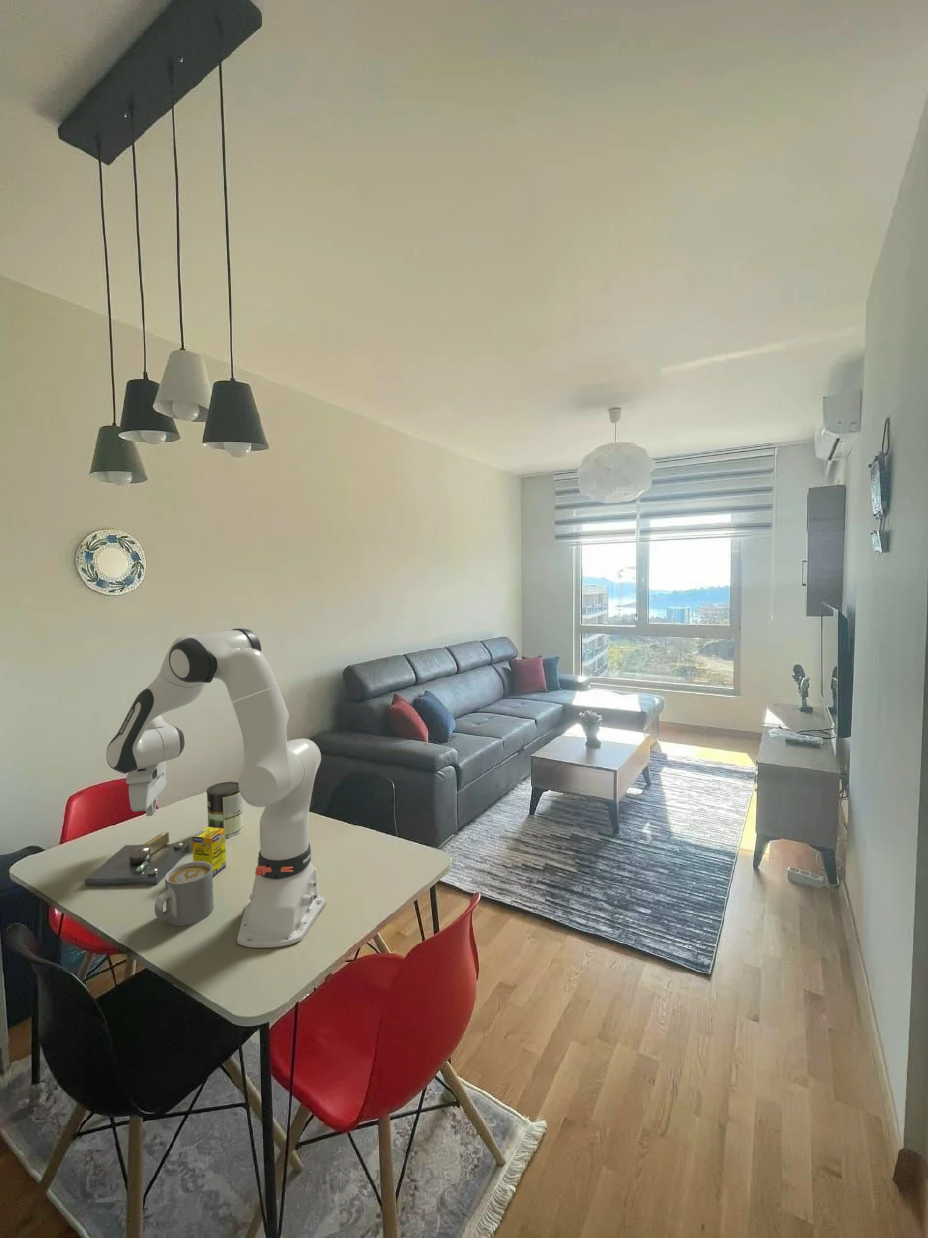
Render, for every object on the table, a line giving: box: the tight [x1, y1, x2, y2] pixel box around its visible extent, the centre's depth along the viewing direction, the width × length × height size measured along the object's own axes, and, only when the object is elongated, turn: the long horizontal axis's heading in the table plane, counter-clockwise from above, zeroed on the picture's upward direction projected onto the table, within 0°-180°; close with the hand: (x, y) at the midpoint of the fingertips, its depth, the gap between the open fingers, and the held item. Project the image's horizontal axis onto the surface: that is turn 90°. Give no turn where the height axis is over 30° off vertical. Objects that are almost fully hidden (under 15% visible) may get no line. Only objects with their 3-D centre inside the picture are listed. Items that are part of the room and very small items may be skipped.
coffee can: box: [206, 781, 244, 839], centre depth 170 cm, size 10×10×14 cm
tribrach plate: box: [84, 841, 190, 888], centre depth 148 cm, size 18×18×3 cm
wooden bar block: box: [129, 831, 170, 864], centre depth 152 cm, size 12×5×3 cm, turn 170°
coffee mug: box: [154, 861, 214, 927], centre depth 126 cm, size 13×10×10 cm
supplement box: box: [192, 826, 227, 878], centre depth 146 cm, size 6×6×11 cm
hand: (151, 814), depth 156 cm, fingers closed
